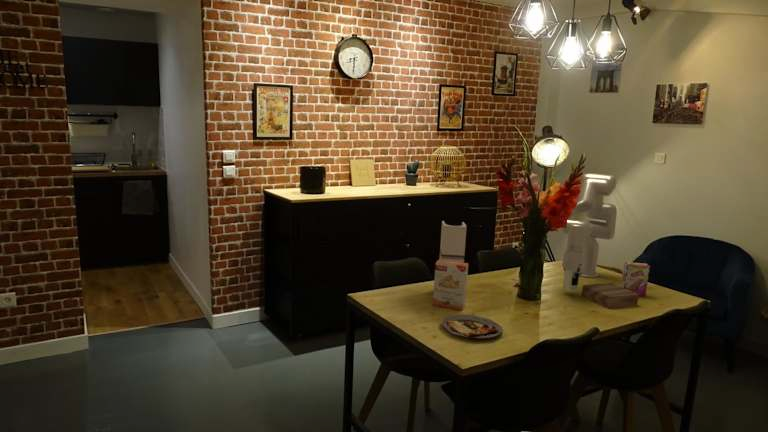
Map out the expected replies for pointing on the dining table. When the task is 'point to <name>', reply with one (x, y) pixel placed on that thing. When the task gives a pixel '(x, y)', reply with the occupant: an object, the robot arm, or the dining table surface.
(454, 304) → the cracker box
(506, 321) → the dining table surface
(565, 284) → the sage block
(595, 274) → the robot arm
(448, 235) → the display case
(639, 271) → the candy bar box
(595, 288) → the walnut block
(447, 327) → the food plate
